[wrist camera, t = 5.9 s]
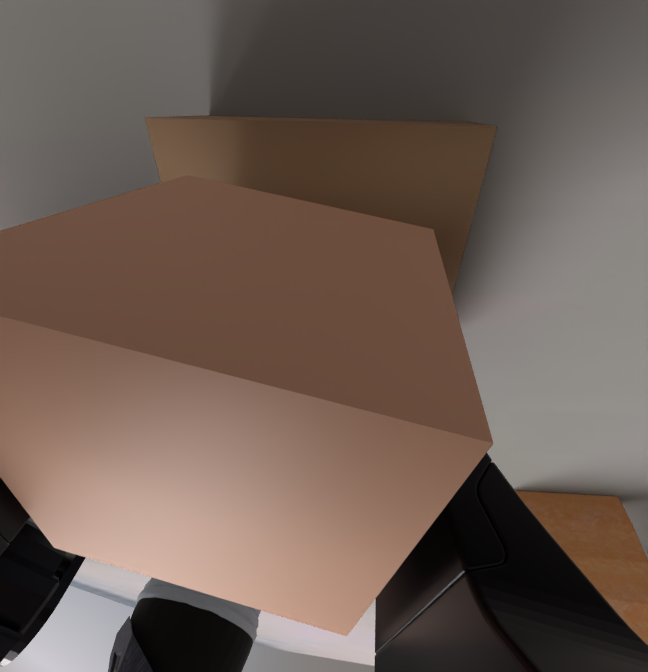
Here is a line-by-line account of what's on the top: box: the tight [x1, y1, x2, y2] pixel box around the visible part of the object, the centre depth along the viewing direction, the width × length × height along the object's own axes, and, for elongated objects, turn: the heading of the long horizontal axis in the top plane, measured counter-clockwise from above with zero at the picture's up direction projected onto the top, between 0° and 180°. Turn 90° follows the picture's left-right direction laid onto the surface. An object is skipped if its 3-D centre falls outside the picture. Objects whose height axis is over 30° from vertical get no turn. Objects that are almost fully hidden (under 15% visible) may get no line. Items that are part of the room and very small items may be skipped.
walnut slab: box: [145, 116, 497, 294], centre depth 12 cm, size 9×9×4 cm
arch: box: [516, 491, 648, 645], centre depth 21 cm, size 6×20×10 cm, turn 10°
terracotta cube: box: [0, 175, 493, 636], centre depth 7 cm, size 6×6×6 cm
